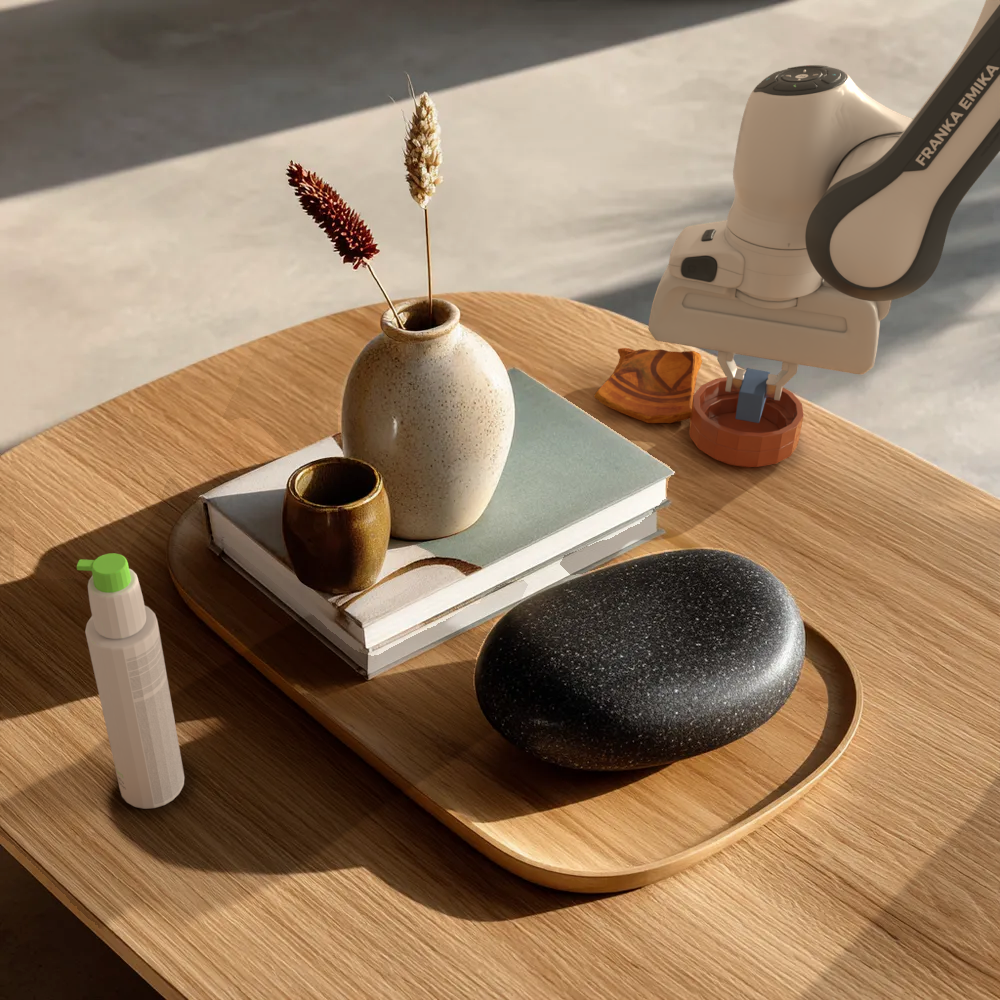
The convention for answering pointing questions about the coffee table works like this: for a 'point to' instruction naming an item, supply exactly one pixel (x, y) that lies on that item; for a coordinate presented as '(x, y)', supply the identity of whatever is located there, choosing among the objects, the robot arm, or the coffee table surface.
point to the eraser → (752, 395)
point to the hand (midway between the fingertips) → (752, 393)
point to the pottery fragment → (652, 385)
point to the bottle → (132, 684)
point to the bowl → (744, 427)
